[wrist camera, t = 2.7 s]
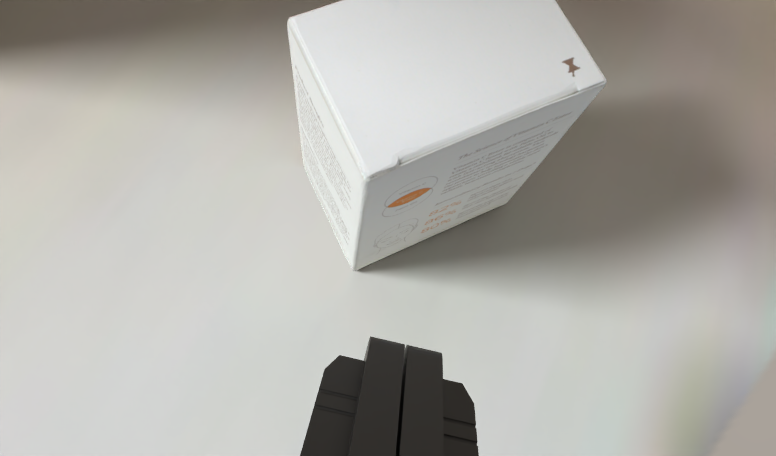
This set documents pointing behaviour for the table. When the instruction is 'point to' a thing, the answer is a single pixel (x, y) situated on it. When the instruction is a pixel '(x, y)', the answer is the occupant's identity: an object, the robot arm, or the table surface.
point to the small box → (430, 110)
